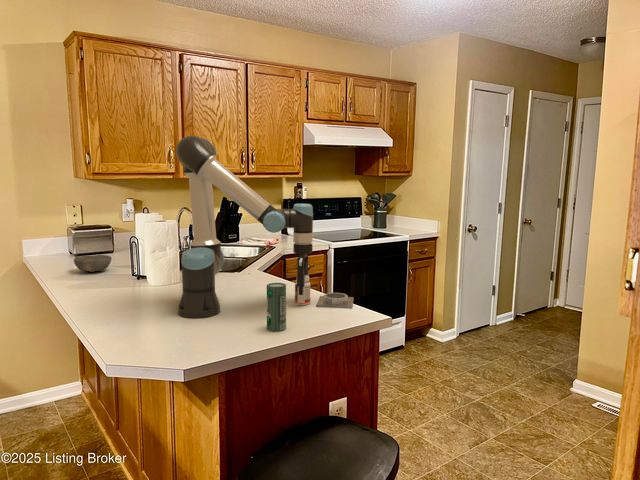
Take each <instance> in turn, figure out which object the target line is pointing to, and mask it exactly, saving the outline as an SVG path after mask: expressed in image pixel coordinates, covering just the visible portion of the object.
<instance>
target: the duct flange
mask: <svg viewBox="0 0 640 480" xmlns="http://www.w3.org/2000/svg"><path fill="white" fill-rule="evenodd" d="M352 304H354V297H353V296H348V294H346V293H343V292H342V293H341V292H328V293H324V294H323V295H320V296H319V298H318V300H317V302H316V305H315V307H316V308H329V309H330V308H333V309H350V310H351V309H353V305H352Z"/></svg>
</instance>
